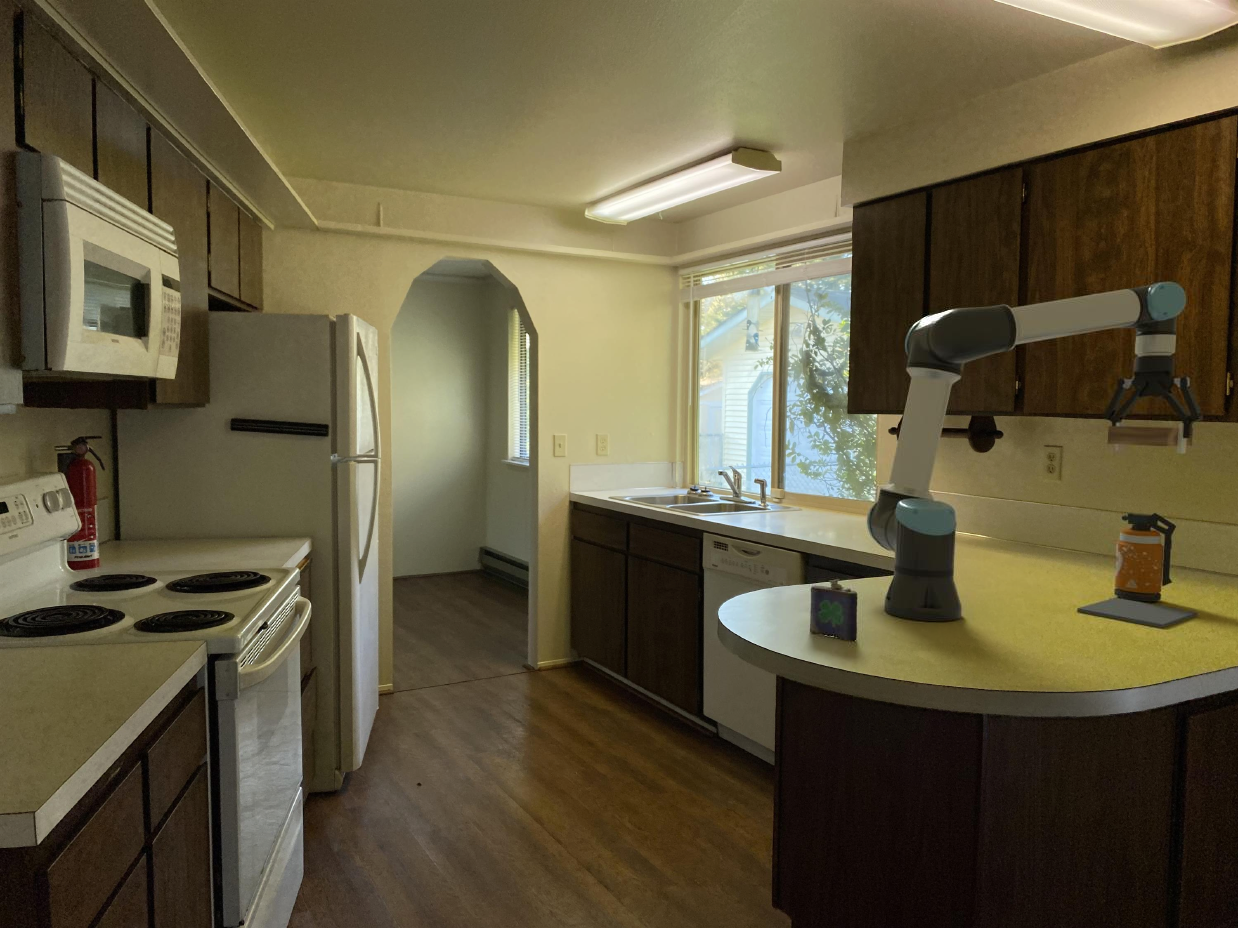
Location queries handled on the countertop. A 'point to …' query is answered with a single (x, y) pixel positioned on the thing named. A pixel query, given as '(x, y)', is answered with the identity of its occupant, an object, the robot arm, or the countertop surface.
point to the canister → (1143, 558)
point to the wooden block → (1145, 436)
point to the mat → (1138, 612)
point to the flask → (834, 611)
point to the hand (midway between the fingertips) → (1149, 452)
